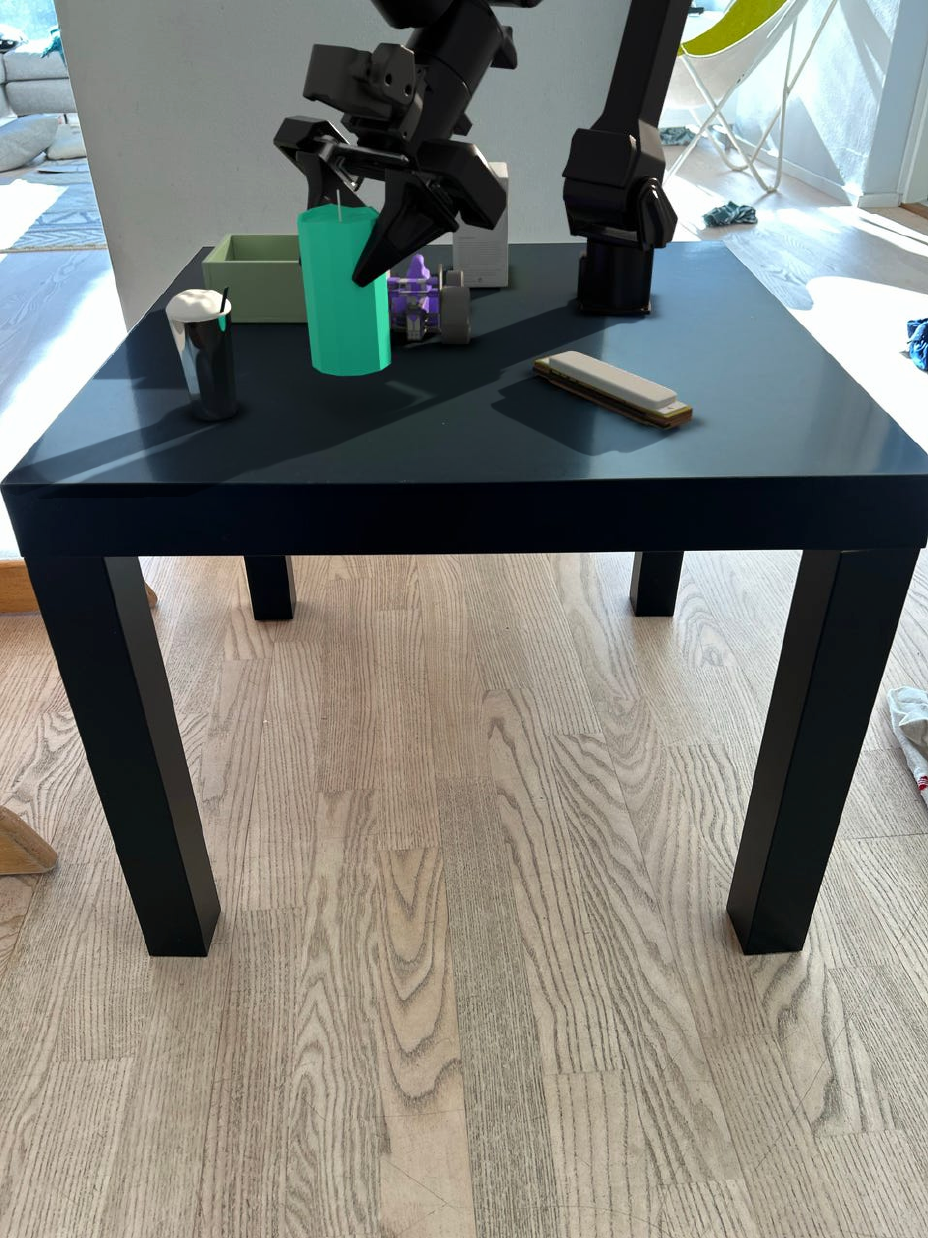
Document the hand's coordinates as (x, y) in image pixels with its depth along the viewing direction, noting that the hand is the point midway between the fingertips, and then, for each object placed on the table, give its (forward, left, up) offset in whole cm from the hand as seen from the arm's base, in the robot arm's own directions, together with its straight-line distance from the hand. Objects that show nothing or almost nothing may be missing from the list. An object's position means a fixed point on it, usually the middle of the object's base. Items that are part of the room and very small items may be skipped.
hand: (329, 275), depth 70 cm
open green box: (+12, -25, -10) cm, 30 cm away
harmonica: (-20, -5, -10) cm, 23 cm away
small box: (-7, -36, -10) cm, 38 cm away
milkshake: (+9, +1, -10) cm, 14 cm away
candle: (-1, -1, -7) cm, 7 cm away
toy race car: (-3, -21, -10) cm, 24 cm away
